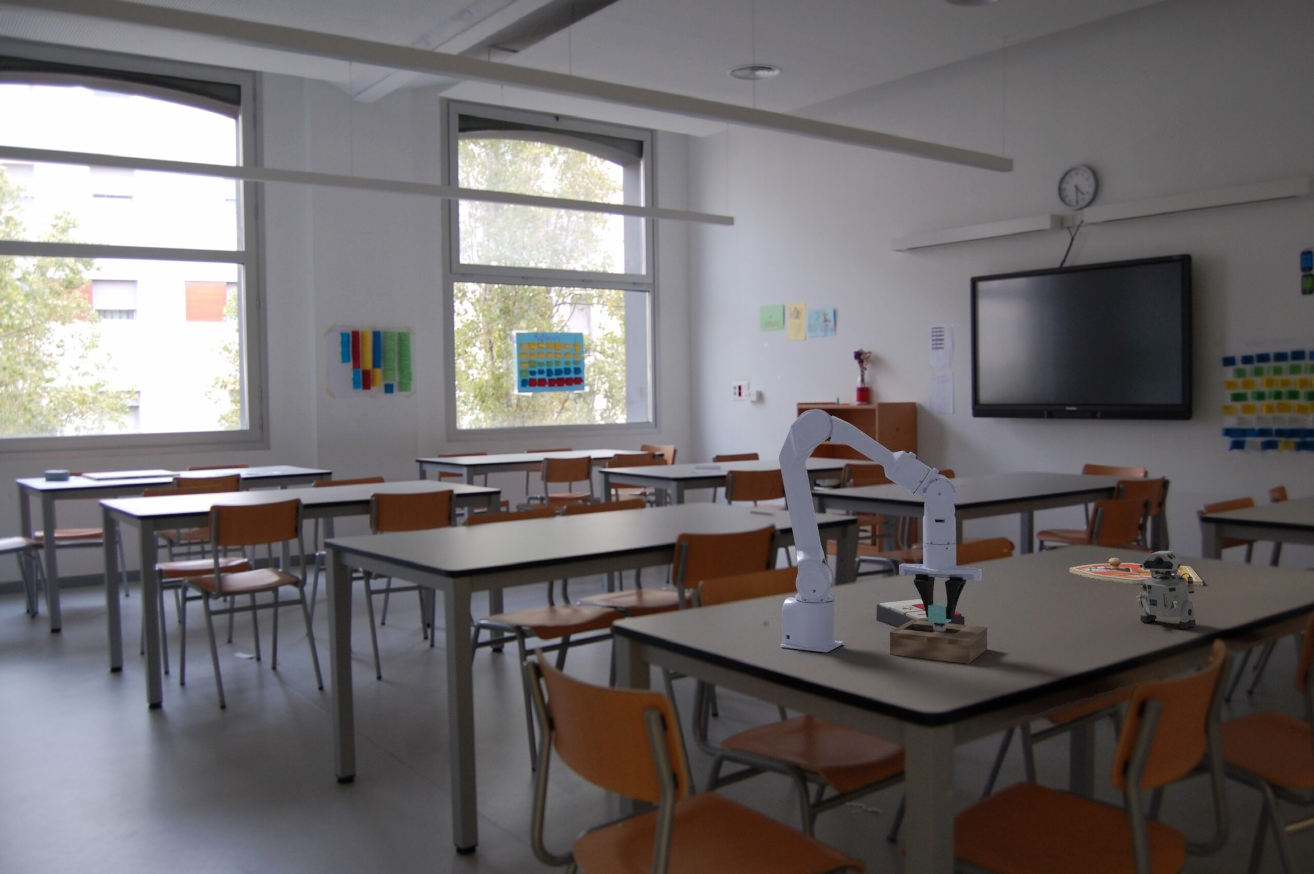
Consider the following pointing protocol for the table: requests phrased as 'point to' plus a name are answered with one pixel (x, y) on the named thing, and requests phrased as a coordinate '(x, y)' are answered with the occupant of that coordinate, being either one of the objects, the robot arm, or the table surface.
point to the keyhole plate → (938, 641)
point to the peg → (938, 616)
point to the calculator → (907, 613)
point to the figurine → (1166, 590)
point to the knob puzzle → (1127, 572)
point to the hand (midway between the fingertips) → (940, 617)
